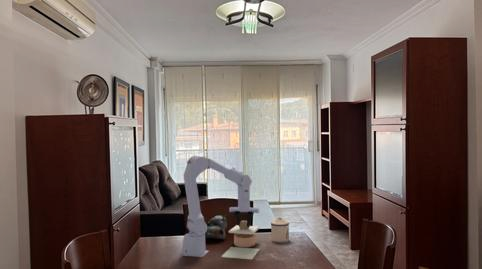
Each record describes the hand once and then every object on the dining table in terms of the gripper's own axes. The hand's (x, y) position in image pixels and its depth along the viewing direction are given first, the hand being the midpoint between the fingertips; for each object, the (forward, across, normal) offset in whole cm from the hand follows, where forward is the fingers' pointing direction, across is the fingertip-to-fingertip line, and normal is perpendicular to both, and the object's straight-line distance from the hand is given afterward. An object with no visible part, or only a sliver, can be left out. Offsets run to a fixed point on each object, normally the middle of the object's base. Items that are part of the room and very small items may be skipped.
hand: (244, 227), depth 175 cm
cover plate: (+2, 0, 0) cm, 2 cm away
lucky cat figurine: (+9, +18, -6) cm, 21 cm away
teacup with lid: (+9, -15, -12) cm, 21 cm away
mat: (+8, -2, +13) cm, 16 cm away
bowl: (+8, 0, 0) cm, 8 cm away
